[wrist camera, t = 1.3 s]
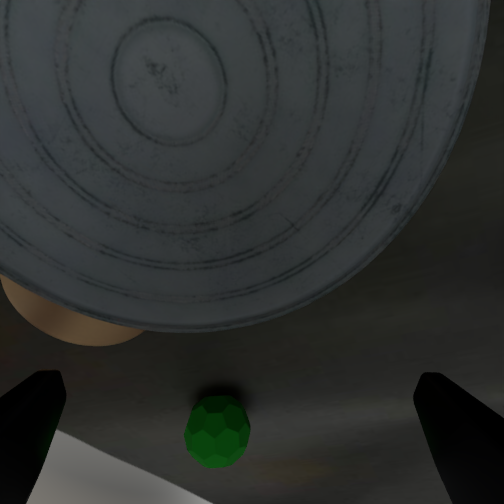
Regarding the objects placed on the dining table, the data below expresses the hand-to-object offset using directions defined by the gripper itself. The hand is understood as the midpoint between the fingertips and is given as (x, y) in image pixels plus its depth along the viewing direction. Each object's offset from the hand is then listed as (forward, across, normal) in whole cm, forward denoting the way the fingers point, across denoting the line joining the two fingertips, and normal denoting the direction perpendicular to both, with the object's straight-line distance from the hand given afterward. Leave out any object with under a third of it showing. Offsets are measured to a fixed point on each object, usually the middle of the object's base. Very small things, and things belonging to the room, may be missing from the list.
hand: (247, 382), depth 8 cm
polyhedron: (+13, +1, +17) cm, 21 cm away
